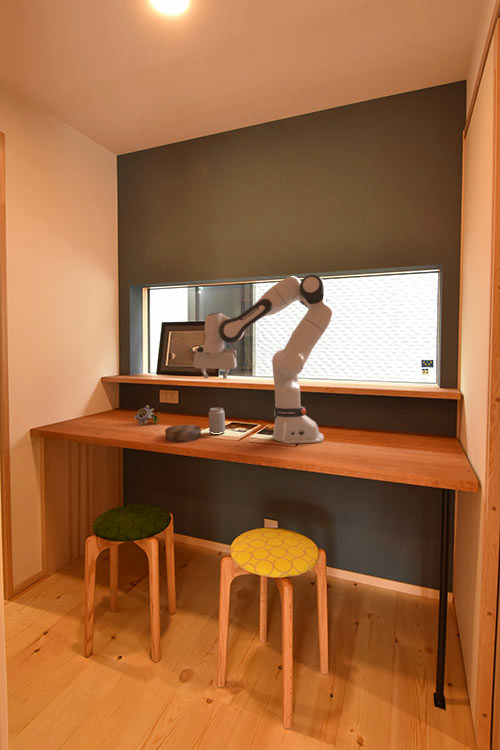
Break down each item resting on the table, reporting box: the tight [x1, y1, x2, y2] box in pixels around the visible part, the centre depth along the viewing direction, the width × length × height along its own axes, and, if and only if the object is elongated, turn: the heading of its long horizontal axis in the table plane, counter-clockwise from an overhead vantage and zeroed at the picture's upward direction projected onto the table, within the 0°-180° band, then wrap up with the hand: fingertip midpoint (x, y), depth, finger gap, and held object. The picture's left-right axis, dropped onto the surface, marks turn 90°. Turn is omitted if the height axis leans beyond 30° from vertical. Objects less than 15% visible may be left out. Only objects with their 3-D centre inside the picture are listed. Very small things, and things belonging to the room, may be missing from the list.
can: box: [208, 407, 226, 433], centre depth 190 cm, size 8×8×12 cm
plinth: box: [164, 424, 202, 443], centre depth 185 cm, size 16×16×4 cm
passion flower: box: [133, 404, 161, 426], centre depth 216 cm, size 11×11×12 cm
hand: (215, 378), depth 188 cm, fingers open, 8 cm apart
